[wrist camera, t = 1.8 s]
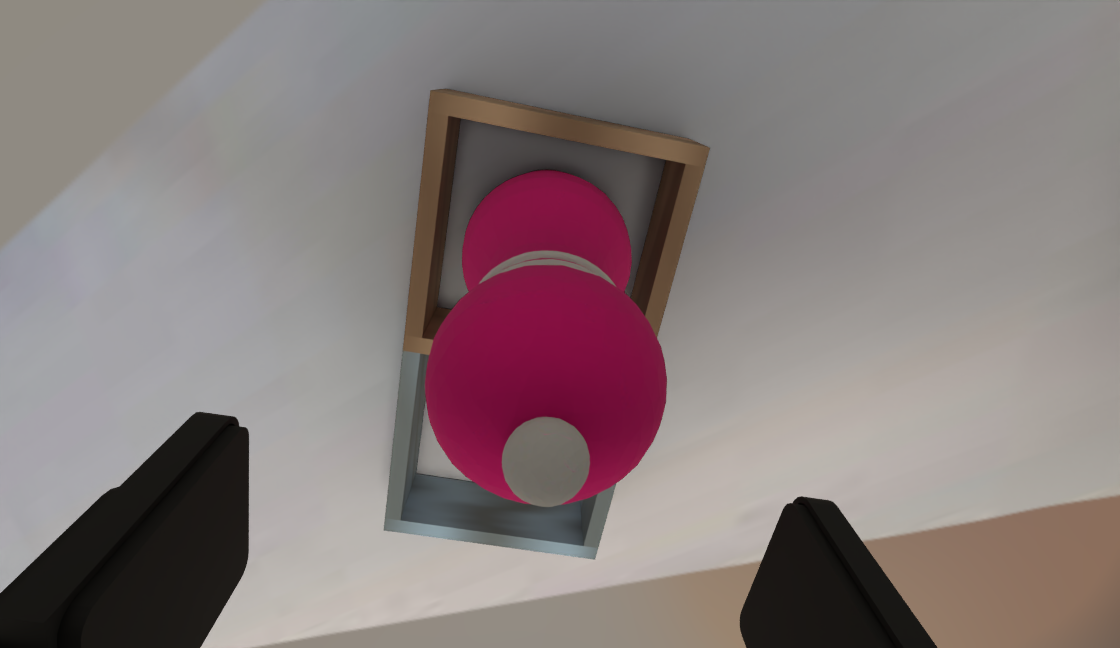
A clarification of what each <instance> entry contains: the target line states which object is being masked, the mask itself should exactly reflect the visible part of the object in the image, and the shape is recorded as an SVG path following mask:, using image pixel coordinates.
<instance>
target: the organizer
mask: <svg viewBox="0 0 1120 648" xmlns="http://www.w3.org/2000/svg"><path fill="white" fill-rule="evenodd" d="M461 118H462V119H467V120H472V121H477V122H482V123H487V124H492V125H497V126H502V127H506V128H511V129H516V130H521V131H526V132H531V133H536V134H541V135H546V136H551V137H556V138H561V139H566V140H571V141H576V142H581V143H586V144H590V145H595V146H600V147H605V148H610V149H615V150H620V151H625V152H630V153H635V154H640V155H645V156H650V157H655V158H660V159H665V160H666V162H665V166H664V170H663V174H662V178H661V181H660V185H659V189H658V193H657V197H656V201H655V205H654V209H653V213H652V217H651V221H650V225H649V229H648V232H647V236H646V240H645V244H644V248H643V252H642V256H641V260H640V264H639V268H638V272H637V276H636V280H635V284H634V287H633V291H632V295H631V299H632V300H633V301H634V302H635V303H636V304H637V306H638V307H639V309H640V310H641V311H642V313H643V314H644V316H645V317H646V319H647V320H648V321H649V323H650V325H651V327H652V329H653V331H654V333H655V335H656V337H657V336H658V332H659V329H660V325H661V321H662V318H663V314H664V311H665V307H666V303H667V300H668V296H669V293H670V289H671V286H672V282H673V278H674V275H675V271H676V268H677V264H678V261H679V257H680V253H681V250H682V246H683V243H684V239H685V236H686V232H687V228H688V225H689V221H690V218H691V214H692V211H693V207H694V203H695V200H696V196H697V193H698V189H699V185H700V182H701V178H702V175H703V171H704V168H705V164H706V160H707V157H708V153H709V150H710V148H709V147H707V146H705V145H702V144H700V143H698V142H695V141H693V140H691V139H688V138H683V137H678V136H673V135H668V134H664V133H659V132H654V131H649V130H644V129H639V128H634V127H630V126H625V125H620V124H615V123H610V122H605V121H601V120H596V119H591V118H586V117H581V116H576V115H571V114H567V113H562V112H557V111H552V110H547V109H542V108H538V107H533V106H528V105H523V104H518V103H513V102H508V101H504V100H499V99H494V98H489V97H484V96H479V95H475V94H470V93H465V92H460V91H455V90H450V89H439V90H430V100H429V109H428V118H427V128H426V137H425V147H424V156H423V165H422V175H421V184H420V194H419V203H418V212H417V222H416V231H415V241H414V250H413V259H412V269H411V278H410V288H409V297H408V307H407V316H406V325H405V335H404V344H403V354H402V363H401V372H400V382H399V391H398V401H397V410H396V419H395V429H394V438H393V448H392V457H391V466H390V476H389V485H388V495H387V504H386V513H385V523H384V530H385V531H392V532H400V533H407V534H414V535H421V536H429V537H436V538H443V539H450V540H457V541H465V542H472V543H479V544H486V545H494V546H501V547H508V548H515V549H522V550H530V551H537V552H544V553H551V554H559V555H566V556H573V557H580V558H587V559H595V557H596V554H597V550H598V547H599V543H600V540H601V536H602V532H603V529H604V525H605V522H606V518H607V514H608V511H609V507H610V504H611V500H612V497H613V493H614V489H615V486H616V484H614V485H613V486H611V487H610V488H608V489H606V490H604V491H602V492H600V493H598V494H596V495H594V496H592V497H590V498H587V499H583V500H580V501H576V502H572V503H568V504H563V505H557V506H553V507H541V506H536V505H532V504H524V503H520V502H516V501H512V500H508V499H505V498H502V497H500V496H498V495H496V494H494V493H491V492H489V491H487V490H485V489H483V488H482V487H480V486H479V485H478V484H476V483H475V482H469V481H462V480H455V479H448V478H442V477H435V476H428V475H421V474H416V470H417V462H418V454H419V446H420V438H421V430H422V422H423V414H424V406H425V398H426V395H425V378H426V369H427V363H428V359H429V355H430V351H431V347H432V343H433V340H434V337H435V335H436V333H437V331H438V329H439V327H440V326H441V324H442V323H443V321H444V320H445V318H446V317H447V315H448V314H449V313H450V312H451V309H445V308H440V307H437V303H438V295H439V287H440V279H441V271H442V263H443V256H444V248H445V240H446V232H447V224H448V216H449V208H450V200H451V192H452V184H453V176H454V168H455V160H456V152H457V145H458V137H459V129H460V121H461Z"/></svg>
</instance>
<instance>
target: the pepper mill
mask: <svg viewBox="0 0 1120 648" xmlns="http://www.w3.org/2000/svg"><path fill="white" fill-rule="evenodd" d="M631 263H632V260H631V246H630V240H629V236H628V231H627V228H626V225H625V223H624V220H623V218H622V216H621V214H620V213H619V211H618V209H617V208H616V206H615V205H614V204H613V203H612V201H611V200H610V199H609V198H608V197H607V196H606V194H605V193H603V192H602V191H601V190H599V189H598V188H597V187H595V186H594V185H593V184H591V183H589V182H587V181H585V180H583V179H581V178H579V177H576V176H574V175H571V174H568V173H565V172H561V171H556V170H537V171H532V172H529V173H525V174H523V175H519V176H516V177H514V178H512V179H509V180H507V181H505V182H504V183H502V184H501V185H499V186H498V187H496V188H495V189H494V190H492V191H491V192H490V193H489V194H488V195H487V196H486V197H485V198H484V199H483V200H482V201H481V203H480V204H479V205H478V206H477V208H476V210H475V211H474V213H473V215H472V217H471V218H470V221H469V224H468V226H467V229H466V232H465V238H464V243H463V250H462V267H463V274H464V279H465V282H466V285H467V289H468V291H469V292H468V293H467V294H466V295H465V296H464V297H462V298H461V299H460V300H459V301H458V303H457V304H456V305H455V306H454V308H453V309H452V310H451V312H450V313H449V314H448V315H447V317H446V318H445V320H444V321H443V323H442V324H441V326H440V327H439V329H438V331H437V333H436V335H435V337H434V340H433V343H432V347H431V351H430V355H429V359H428V363H427V369H426V378H425V395H426V402H427V409H428V416H429V420H430V423H431V426H432V428H433V431H434V433H435V436H436V438H437V441H438V443H439V444H440V446H441V447H442V449H443V450H444V452H445V453H446V455H447V456H448V458H449V459H450V461H451V462H452V464H453V465H454V466H455V467H456V468H457V469H458V470H460V471H461V472H462V473H463V474H464V475H465V476H466V477H467V478H469V479H470V480H472V481H473V482H475V483H476V484H478V485H479V486H480V487H482V488H483V489H485V490H487V491H489V492H491V493H494V494H496V495H498V496H500V497H502V498H505V499H508V500H512V501H516V502H520V503H524V504H532V505H536V506H541V507H553V506H557V505H563V504H568V503H572V502H576V501H580V500H583V499H587V498H590V497H592V496H594V495H596V494H598V493H600V492H602V491H604V490H606V489H608V488H610V487H611V486H613V485H614V484H616V483H617V482H618V481H620V480H621V479H623V478H624V477H625V476H626V475H627V474H628V473H629V472H630V471H631V470H632V469H634V468H635V467H636V466H637V465H638V463H639V462H640V460H641V459H642V457H643V456H644V454H645V453H646V451H647V450H648V448H649V447H650V445H651V444H652V442H653V440H654V438H655V436H656V433H657V431H658V429H659V426H660V423H661V420H662V416H663V412H664V408H665V404H666V388H667V376H666V369H665V362H664V357H663V353H662V350H661V346H660V344H659V342H658V340H657V337H656V335H655V333H654V331H653V329H652V327H651V325H650V323H649V321H648V320H647V319H646V317H645V316H644V314H643V313H642V311H641V310H640V309H639V307H638V306H637V304H636V303H635V302H634V301H633V300H632V299H631V298H630V297H628V296H627V295H626V294H625V293H624V291H625V288H626V286H627V283H628V280H629V277H630V270H631Z"/></svg>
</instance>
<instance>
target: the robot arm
mask: <svg viewBox="0 0 1120 648" xmlns="http://www.w3.org/2000/svg"><path fill="white" fill-rule="evenodd" d="M248 552H249V432H248V429H247V428H245V427H239V422H238V420H237V418H235V417H233V416H225V415H218V414H211V413H204V412H196V413H195V414H194V415H192V416H191V417H190V418H189V419H188V420H187V421H186V422H185V423H184V424H183V425H182V426H181V427H180V428H179V429H178V430H177V431H176V432H175V433H174V434H173V435H172V436H171V437H170V438H169V439H168V440H167V441H166V442H165V443H164V444H162V445H161V446H160V447H159V448H158V449H157V450H156V451H155V452H154V453H153V454H152V455H151V456H150V457H149V458H148V459H147V460H146V461H145V462H144V463H143V464H142V465H141V466H140V467H139V468H138V469H137V470H136V471H135V472H134V473H133V474H132V475H131V476H130V477H129V478H128V479H127V480H126V481H125V482H124V483H123V484H122V485H121V486H120V487H117V488H113V489H110V490H109V491H108V492H106V493H105V494H104V495H102V496H101V497H100V498H99V499H98V500H97V501H96V502H95V503H94V504H93V505H92V506H91V507H90V508H89V509H88V510H87V511H85V512H84V513H83V514H82V515H81V516H80V517H79V518H78V519H77V520H76V521H75V522H74V523H73V524H72V525H71V526H70V527H69V528H68V529H67V530H66V531H65V532H64V533H63V534H62V535H61V536H59V537H58V538H57V539H56V540H55V541H54V542H53V543H52V544H51V545H50V546H49V547H48V548H47V549H46V550H45V551H44V552H43V553H42V554H41V555H40V556H39V557H38V558H37V559H36V560H35V561H33V562H32V563H31V564H30V565H29V566H28V567H27V568H26V569H25V570H24V571H23V572H22V573H21V574H20V575H19V576H18V577H17V578H16V579H15V580H14V581H13V582H12V583H11V584H10V585H8V586H7V587H6V588H5V589H4V590H3V591H2V592H1V593H0V648H200V647H201V646H202V644H203V642H204V640H205V639H206V637H207V635H208V634H209V632H210V630H211V629H212V627H213V625H214V623H215V622H216V620H217V618H218V617H219V615H220V613H221V612H222V610H223V608H224V606H225V605H226V603H227V601H228V600H229V598H230V596H231V595H232V593H233V591H234V589H235V588H236V586H237V584H238V583H239V581H240V579H241V577H242V575H243V573H244V571H245V568H246V564H247V560H248ZM740 630H741V634H742V637H743V640H744V642H745V645H746V648H937V646H936V645H935V643H934V642H933V641H932V639H931V638H930V636H929V635H928V634H927V632H926V631H925V629H924V628H923V627H922V625H921V624H920V622H919V621H918V619H917V618H916V617H915V615H914V614H913V612H911V610H910V608H909V607H908V605H907V604H906V603H905V601H904V600H903V599H902V597H901V596H900V594H899V593H898V591H897V590H896V589H895V587H894V586H893V584H892V583H891V581H890V580H889V579H888V577H887V576H886V574H885V573H884V572H883V570H882V569H881V567H880V566H879V565H878V563H877V562H876V560H875V559H874V558H873V556H872V555H871V553H870V552H869V551H868V549H867V548H866V546H865V545H864V543H863V542H862V541H861V539H860V538H859V536H858V535H857V534H856V532H855V531H854V529H853V528H852V527H851V525H850V524H849V522H848V521H847V519H846V518H845V517H844V515H843V514H842V512H841V511H840V510H839V508H838V507H837V506H836V505H835V504H834V502H832V501H829V500H822V499H815V498H808V497H798V498H796V499H795V500H794V502H793V503H789V504H787V505H786V506H785V507H784V509H783V511H782V513H781V516H780V518H779V521H778V523H777V525H776V528H775V530H774V533H773V535H772V538H771V540H770V542H769V545H768V547H767V550H766V552H765V555H764V557H763V560H762V562H761V564H760V567H759V570H758V572H757V574H756V577H755V579H754V582H753V584H752V586H751V589H750V592H749V594H748V596H747V599H746V601H745V604H744V606H743V609H742V611H741V615H740Z"/></svg>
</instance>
